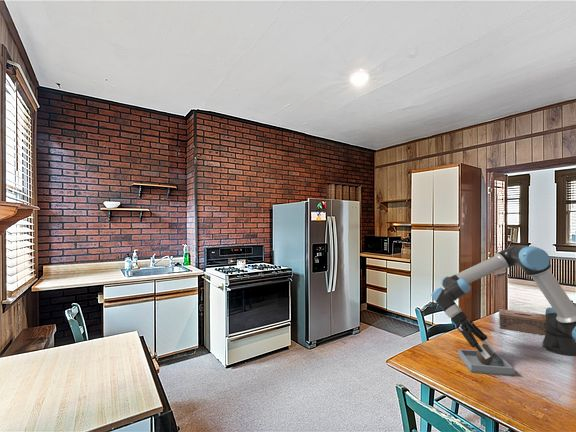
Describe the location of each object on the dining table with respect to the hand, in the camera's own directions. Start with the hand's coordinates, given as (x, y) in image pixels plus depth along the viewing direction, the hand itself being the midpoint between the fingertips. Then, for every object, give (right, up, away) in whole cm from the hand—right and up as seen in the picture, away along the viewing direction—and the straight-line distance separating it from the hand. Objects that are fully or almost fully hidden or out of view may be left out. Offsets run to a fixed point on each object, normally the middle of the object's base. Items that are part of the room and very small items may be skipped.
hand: (491, 355), depth 146 cm
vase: (-2, -5, +3) cm, 6 cm away
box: (-2, -6, +3) cm, 7 cm away
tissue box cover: (+56, -7, +50) cm, 76 cm away
